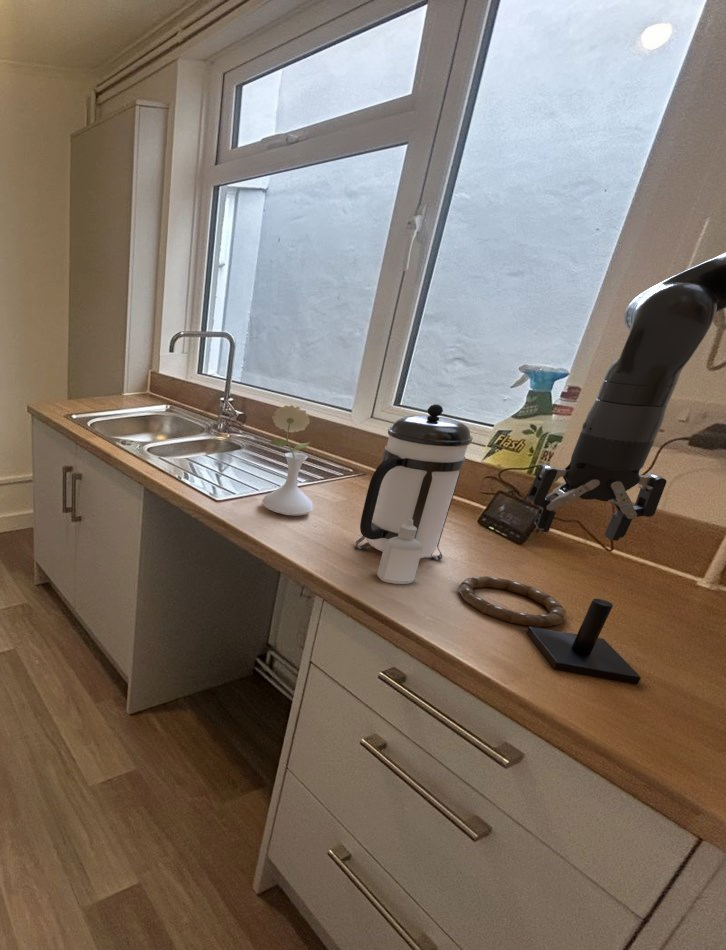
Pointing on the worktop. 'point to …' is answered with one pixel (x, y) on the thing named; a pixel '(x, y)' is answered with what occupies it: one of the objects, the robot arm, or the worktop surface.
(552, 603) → the ring
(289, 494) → the flower in vase
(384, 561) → the eye dropper bottle
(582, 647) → the stand
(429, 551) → the coffee press
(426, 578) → the worktop surface
